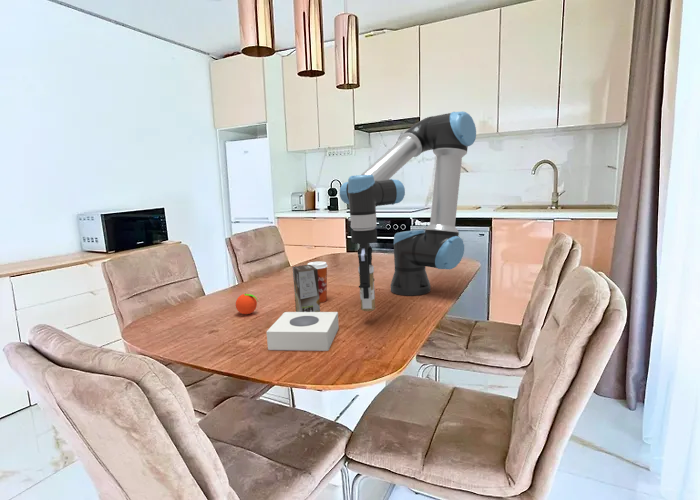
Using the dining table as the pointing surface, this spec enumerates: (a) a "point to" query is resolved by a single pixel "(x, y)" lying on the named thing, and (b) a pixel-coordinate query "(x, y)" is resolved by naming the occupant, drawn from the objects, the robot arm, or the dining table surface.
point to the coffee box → (306, 288)
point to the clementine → (246, 303)
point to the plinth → (303, 331)
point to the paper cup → (321, 279)
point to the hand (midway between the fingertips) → (368, 305)
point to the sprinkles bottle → (371, 270)
